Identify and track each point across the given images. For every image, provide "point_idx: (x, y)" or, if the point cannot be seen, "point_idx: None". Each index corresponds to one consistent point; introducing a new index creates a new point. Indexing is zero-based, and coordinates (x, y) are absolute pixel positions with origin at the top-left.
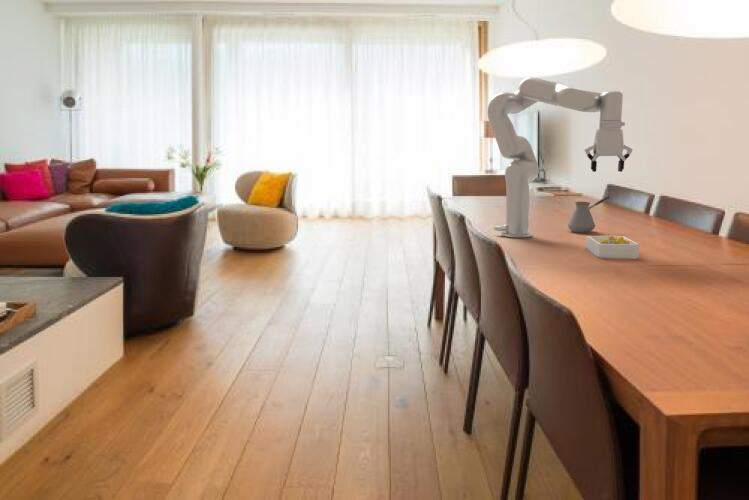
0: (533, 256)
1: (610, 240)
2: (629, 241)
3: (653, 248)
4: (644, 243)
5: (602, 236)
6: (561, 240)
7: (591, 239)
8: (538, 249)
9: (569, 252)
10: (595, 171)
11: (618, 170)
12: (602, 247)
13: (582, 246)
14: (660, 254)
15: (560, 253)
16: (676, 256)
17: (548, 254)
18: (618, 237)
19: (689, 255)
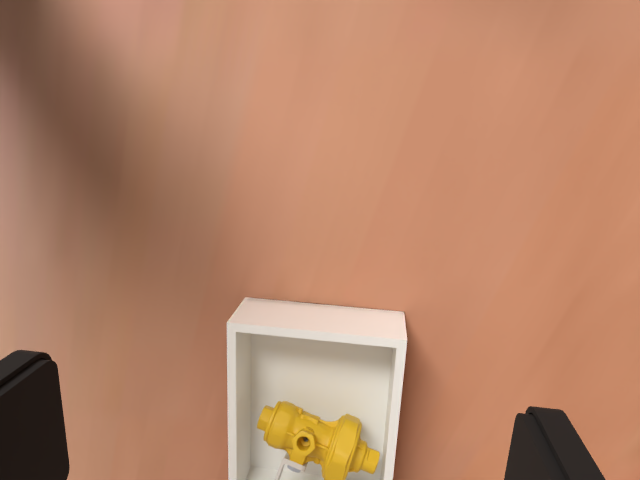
0: None
1: (290, 466)
2: (373, 473)
3: (563, 298)
4: (594, 163)
5: (301, 337)
6: (182, 66)
7: (228, 403)
8: (55, 294)
9: (165, 359)
10: (60, 474)
11: (515, 442)
12: None
13: (247, 236)
14: None
15: (128, 374)
16: None
17: (84, 388)
18: (325, 475)
19: (631, 450)
